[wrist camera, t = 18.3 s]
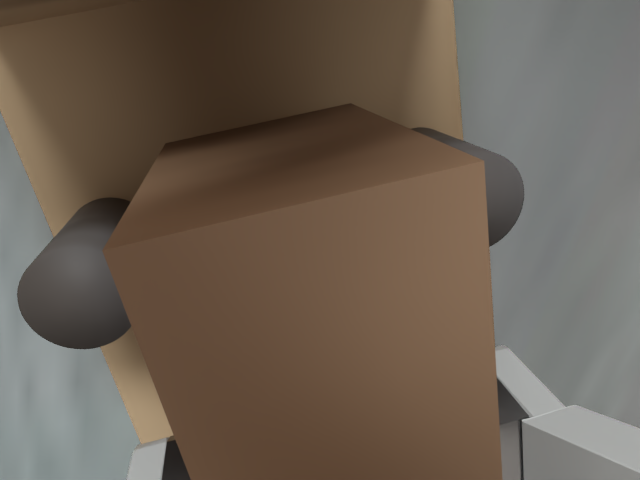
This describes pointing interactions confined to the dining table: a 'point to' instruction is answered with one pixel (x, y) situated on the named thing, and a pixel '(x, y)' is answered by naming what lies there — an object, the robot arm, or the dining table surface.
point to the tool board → (195, 123)
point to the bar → (316, 301)
